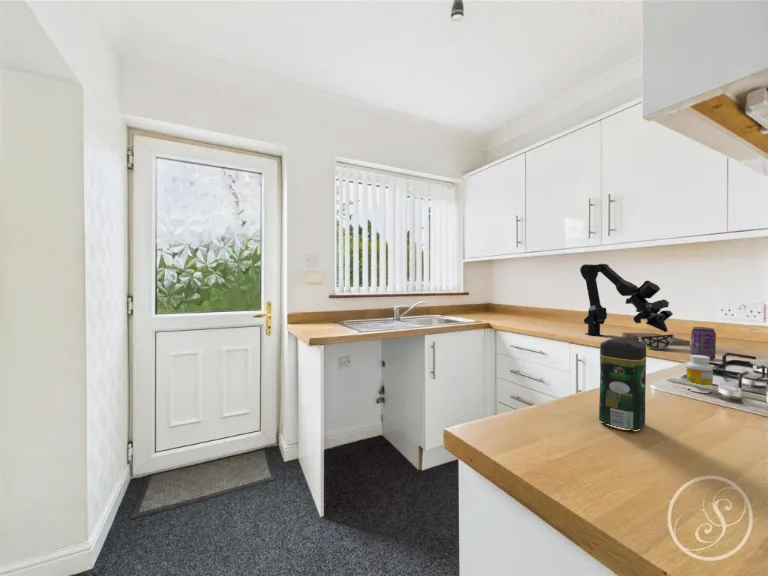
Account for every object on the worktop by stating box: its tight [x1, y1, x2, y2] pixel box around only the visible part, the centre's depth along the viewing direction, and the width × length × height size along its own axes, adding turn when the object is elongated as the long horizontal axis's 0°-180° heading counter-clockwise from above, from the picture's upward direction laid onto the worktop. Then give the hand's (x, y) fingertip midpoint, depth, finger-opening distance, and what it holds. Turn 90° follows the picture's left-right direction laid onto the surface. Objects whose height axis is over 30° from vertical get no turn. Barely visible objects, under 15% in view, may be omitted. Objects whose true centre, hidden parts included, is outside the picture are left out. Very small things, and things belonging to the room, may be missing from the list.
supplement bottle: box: [686, 354, 714, 386], centre depth 95 cm, size 5×5×10 cm
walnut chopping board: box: [621, 331, 691, 346], centre depth 174 cm, size 24×16×2 cm, turn 176°
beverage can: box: [690, 326, 717, 361], centre depth 135 cm, size 7×7×12 cm
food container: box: [639, 333, 675, 351], centre depth 153 cm, size 12×6×10 cm
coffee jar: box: [598, 336, 648, 430], centre depth 73 cm, size 10×8×19 cm
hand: (666, 331), depth 154 cm, fingers closed
